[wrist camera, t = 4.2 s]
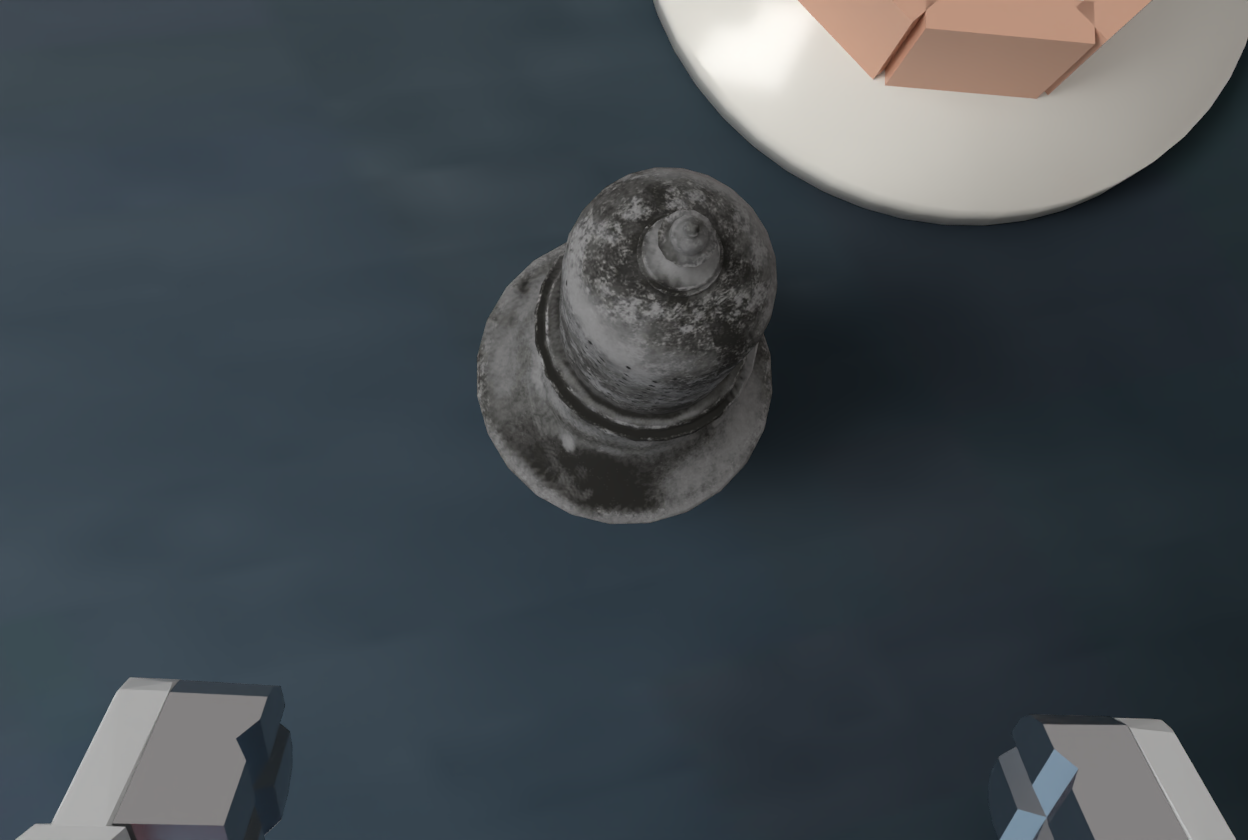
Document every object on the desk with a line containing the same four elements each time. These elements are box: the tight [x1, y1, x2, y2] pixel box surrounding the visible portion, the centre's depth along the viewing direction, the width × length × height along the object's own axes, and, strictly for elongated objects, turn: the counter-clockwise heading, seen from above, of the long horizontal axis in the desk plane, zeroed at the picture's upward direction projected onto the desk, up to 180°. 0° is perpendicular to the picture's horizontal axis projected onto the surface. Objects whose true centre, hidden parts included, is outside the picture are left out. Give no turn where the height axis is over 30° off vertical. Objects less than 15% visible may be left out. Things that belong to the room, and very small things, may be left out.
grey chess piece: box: [477, 168, 777, 524], centre depth 16 cm, size 6×6×12 cm
